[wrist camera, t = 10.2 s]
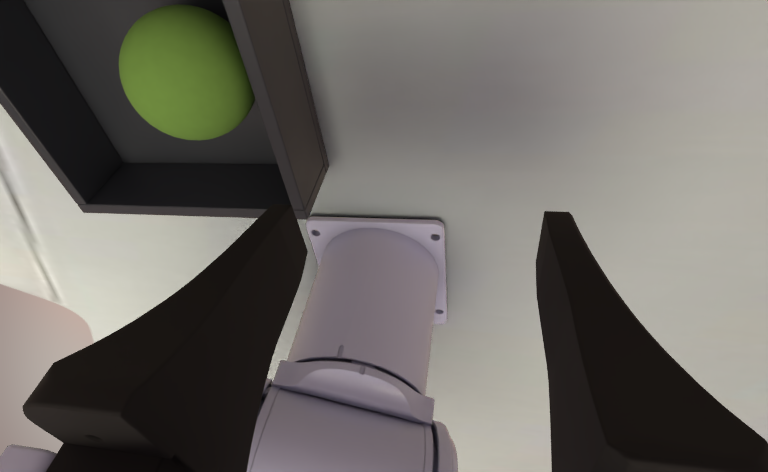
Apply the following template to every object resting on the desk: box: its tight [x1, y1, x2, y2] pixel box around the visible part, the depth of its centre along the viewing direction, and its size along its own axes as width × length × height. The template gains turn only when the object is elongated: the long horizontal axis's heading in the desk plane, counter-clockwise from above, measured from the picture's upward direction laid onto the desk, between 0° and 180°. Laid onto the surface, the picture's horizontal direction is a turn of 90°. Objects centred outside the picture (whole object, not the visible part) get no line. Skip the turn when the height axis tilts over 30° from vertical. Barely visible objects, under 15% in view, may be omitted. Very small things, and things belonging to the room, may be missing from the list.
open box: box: [0, 0, 329, 219], centre depth 19 cm, size 15×12×4 cm
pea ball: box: [119, 4, 255, 140], centre depth 18 cm, size 5×5×5 cm
